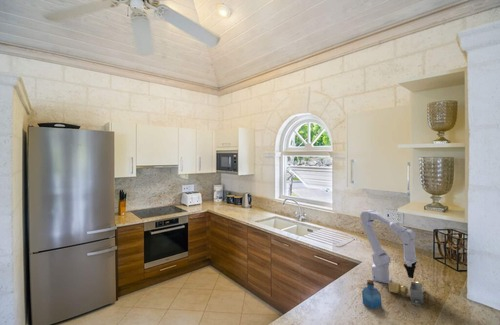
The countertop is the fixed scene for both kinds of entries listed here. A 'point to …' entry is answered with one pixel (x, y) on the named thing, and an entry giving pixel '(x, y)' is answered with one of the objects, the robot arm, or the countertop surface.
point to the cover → (420, 283)
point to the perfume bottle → (371, 295)
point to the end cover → (398, 288)
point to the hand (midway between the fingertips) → (411, 275)
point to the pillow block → (416, 293)
